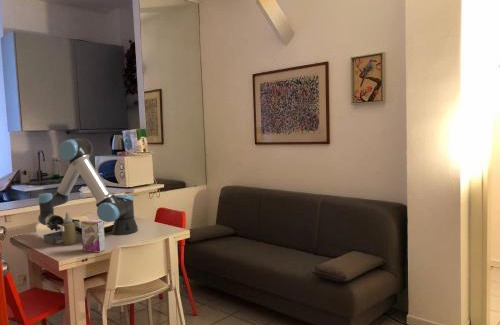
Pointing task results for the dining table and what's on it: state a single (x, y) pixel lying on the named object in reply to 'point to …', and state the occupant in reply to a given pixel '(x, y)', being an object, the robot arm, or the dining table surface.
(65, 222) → the squeeze bottle
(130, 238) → the dining table surface
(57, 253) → the dining table surface
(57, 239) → the dark grey tray
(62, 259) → the dining table surface
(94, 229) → the candy bar box
